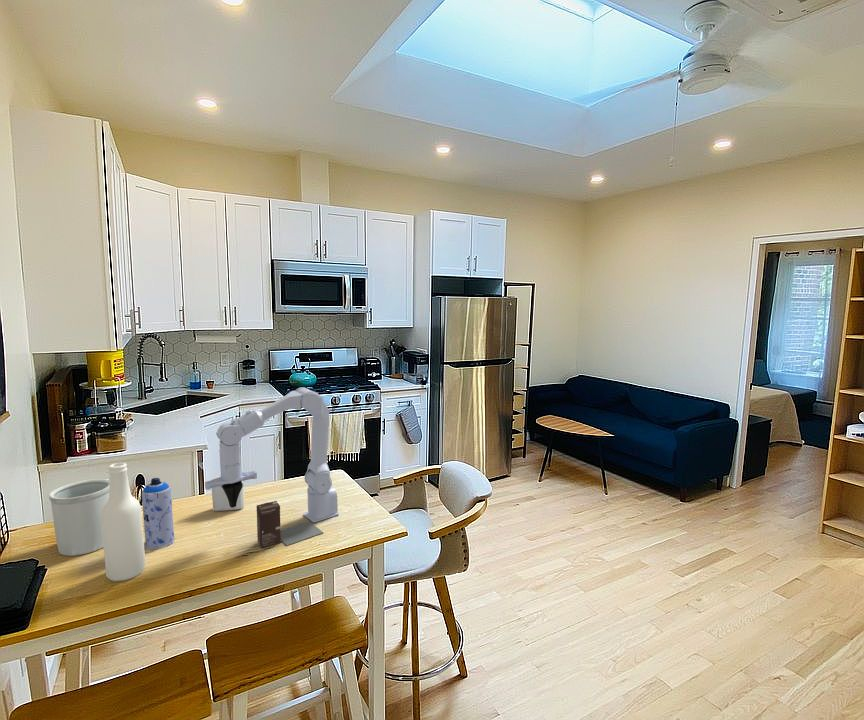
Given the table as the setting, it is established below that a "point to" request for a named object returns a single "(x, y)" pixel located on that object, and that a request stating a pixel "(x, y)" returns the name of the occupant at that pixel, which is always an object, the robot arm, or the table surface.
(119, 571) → the alcohol
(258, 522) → the box
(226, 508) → the photo printer
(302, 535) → the mat
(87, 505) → the utensil holder
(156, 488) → the aerosol can
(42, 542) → the table surface
